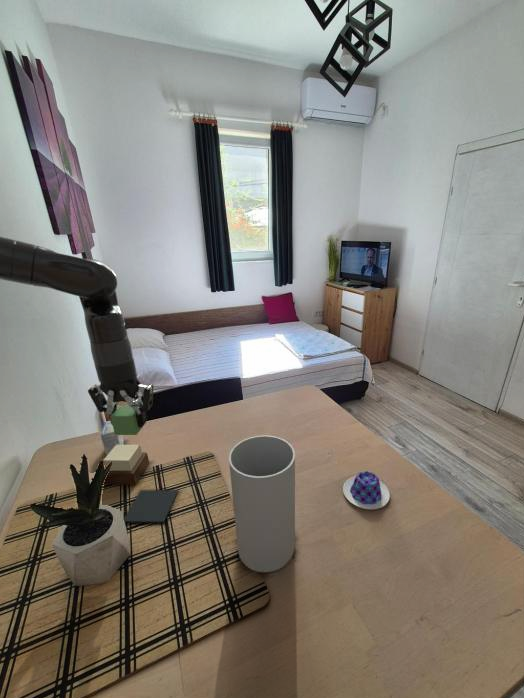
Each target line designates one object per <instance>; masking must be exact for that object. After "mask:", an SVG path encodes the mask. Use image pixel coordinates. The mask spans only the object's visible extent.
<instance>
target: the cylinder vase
mask: <svg viewBox="0 0 524 698" xmlns="http://www.w3.org/2000/svg"><path fill="white" fill-rule="evenodd" d="M228 464H229V473H230V474H229V475H230V483H231V495H232V504H233V505H232V506H233V515H234V524H235V535H236V546H237V553H238V557H239V559H240V561H241V562H242V563H243V564H244V566H246V567H247V568H248V569H249V570H252V571H254V572H258V573H271V572H276V571H278V570H280V569H281V568H283V567H285V565H286V564H288V563H289V562H290V560H291V559H292V558H293V555H294V553H295V547H296V452H295V449H294V446H292V444H291V443H290V442H288V441H287V440H286V439H284V438H281V437H279V436H275V435H267V434H266V435H263V434H262V435H255V436H250V437H248V438H244V439H242V440H241V441H239V442H237V444H235V445H234V446H233V447H232V449H231V450H230V452H229V455H228Z"/></svg>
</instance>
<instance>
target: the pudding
mask: <svg viewBox="0 0 524 698" xmlns="http://www.w3.org/2000/svg"><path fill="white" fill-rule="evenodd" d="M342 493H343V495H344V496H345V498H346V500H348V502H349V503H351V504H352V505H354V506H356V507H358V508H360V509H365V510H378V509H380V508H383V507H385V506H386V505H387V504H388V502H389V501H390V499H391V498H390V497H391V495H390V494H391V493H390V490H389V488H388V487H387V485H385V483H384V482H382V481H381V480H380V479H379V477H378V476H377V475H376V474H375V473H374V472H371V471H370V472H369V471H368V470H364V471H359V472H358V473H357V474H356V475H355V476H351V477H349V478H348V479H346V480H345V481H344V483H343V486H342Z"/></svg>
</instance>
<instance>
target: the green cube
mask: <svg viewBox="0 0 524 698" xmlns="http://www.w3.org/2000/svg"><path fill="white" fill-rule="evenodd" d="M110 417H111V421H112V425H113V429H114V433H115V435H123V436H137V435H138V434H139V433H140V431H141V430H142V429H143V427H142V428H139V427H138V423H137V419H136V413H135V411H134V410H133V408H132V407H130V406H129V405H128V404H121V405H120V406H119V407H117V410H116V411H115V412H114V413H113V414H112V415H111V416H110ZM110 417H109V418H110ZM145 425H146V423H145V424H144V426H145Z"/></svg>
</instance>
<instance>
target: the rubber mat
mask: <svg viewBox="0 0 524 698" xmlns="http://www.w3.org/2000/svg"><path fill="white" fill-rule="evenodd" d="M178 493H179V491H178V490H154V489H153V490H152V489H151V490H150V489H149V490H146V489H145V490H142V489H140V491H139V492H138V494H137V496H136V498H135V499H134V501H133V503H131V506H130V507H129V509H128V511H127V513H126V515H125V517H124V518H123V520H125V523H127V524H128V523H129V524H131V523H132V524H165V522H166V520H167V518H168V515H169V514H170V511H171V509H172V506H173V504H174V502H175V501H176V498H177V496H178Z"/></svg>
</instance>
